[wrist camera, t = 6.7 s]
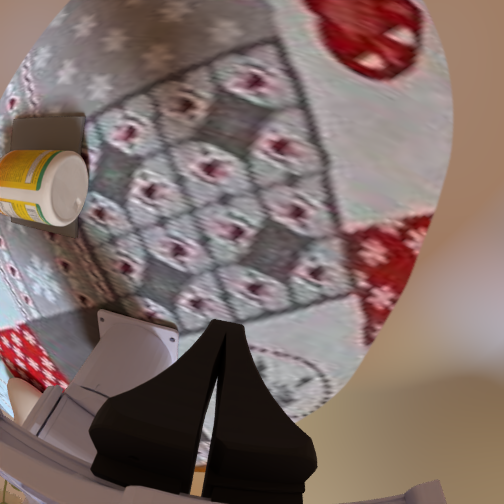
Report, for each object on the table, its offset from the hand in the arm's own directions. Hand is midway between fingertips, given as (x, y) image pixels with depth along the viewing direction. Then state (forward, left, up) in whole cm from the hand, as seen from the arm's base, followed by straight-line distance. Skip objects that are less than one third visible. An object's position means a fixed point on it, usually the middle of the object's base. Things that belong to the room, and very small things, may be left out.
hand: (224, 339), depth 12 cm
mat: (+4, +19, -10) cm, 21 cm away
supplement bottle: (+3, +12, -7) cm, 14 cm away
